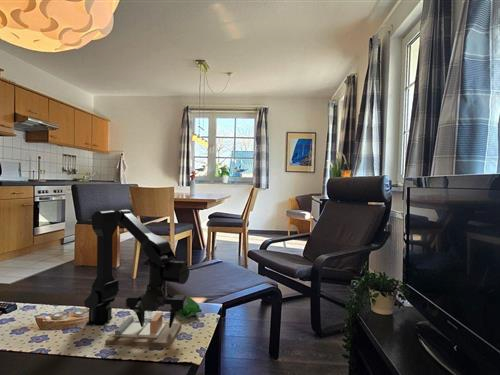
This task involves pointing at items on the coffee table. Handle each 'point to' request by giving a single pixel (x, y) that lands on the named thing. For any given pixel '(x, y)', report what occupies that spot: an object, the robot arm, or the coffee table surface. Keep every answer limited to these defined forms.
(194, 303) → the snack package
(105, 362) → the coffee table surface
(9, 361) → the coffee table surface
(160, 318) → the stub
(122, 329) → the white tray
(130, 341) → the board
